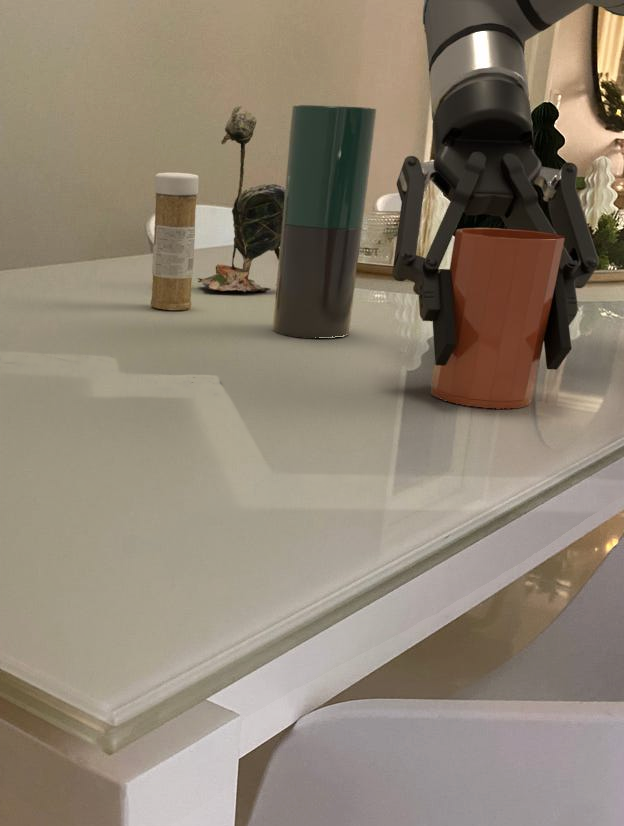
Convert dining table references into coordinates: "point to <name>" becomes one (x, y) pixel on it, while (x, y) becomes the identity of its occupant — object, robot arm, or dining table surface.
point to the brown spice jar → (174, 240)
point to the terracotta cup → (498, 315)
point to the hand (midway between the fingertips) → (502, 356)
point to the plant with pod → (249, 216)
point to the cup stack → (322, 219)
